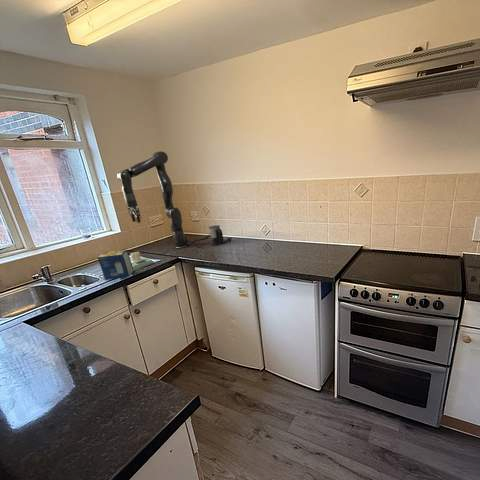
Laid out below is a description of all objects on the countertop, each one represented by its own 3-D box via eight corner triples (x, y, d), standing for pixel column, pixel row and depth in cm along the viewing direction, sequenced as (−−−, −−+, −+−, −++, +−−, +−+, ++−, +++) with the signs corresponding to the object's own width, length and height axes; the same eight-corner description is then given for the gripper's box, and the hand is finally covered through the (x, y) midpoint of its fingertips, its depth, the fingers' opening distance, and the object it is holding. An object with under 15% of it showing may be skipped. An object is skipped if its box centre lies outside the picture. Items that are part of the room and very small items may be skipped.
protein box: (111, 274, 204) (104, 252, 198) (134, 271, 204) (127, 249, 199) (104, 279, 194) (96, 257, 189) (128, 276, 195) (121, 254, 189)
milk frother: (209, 245, 248) (206, 227, 243) (222, 239, 260) (219, 223, 255) (222, 246, 241) (219, 228, 235) (234, 240, 253) (231, 223, 248)
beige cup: (138, 257, 223) (137, 251, 221) (142, 258, 219) (140, 252, 217) (130, 260, 219) (128, 253, 217) (134, 261, 215) (132, 254, 213)
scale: (142, 259, 229) (141, 255, 228) (152, 262, 218) (151, 258, 217) (124, 265, 220) (122, 261, 219) (133, 269, 209) (132, 264, 208)
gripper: (139, 199, 216) (145, 221, 222) (131, 199, 226) (137, 220, 232) (129, 200, 212) (135, 223, 217) (121, 200, 221) (127, 222, 227)
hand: (136, 221), depth 225 cm, fingers open, 8 cm apart
